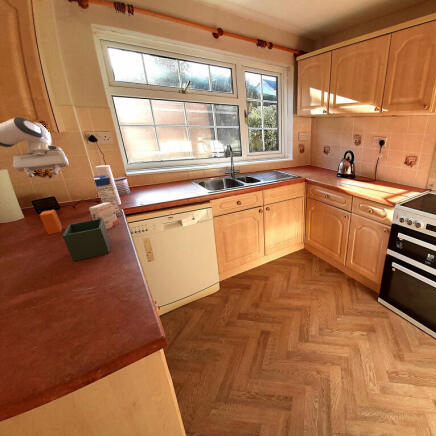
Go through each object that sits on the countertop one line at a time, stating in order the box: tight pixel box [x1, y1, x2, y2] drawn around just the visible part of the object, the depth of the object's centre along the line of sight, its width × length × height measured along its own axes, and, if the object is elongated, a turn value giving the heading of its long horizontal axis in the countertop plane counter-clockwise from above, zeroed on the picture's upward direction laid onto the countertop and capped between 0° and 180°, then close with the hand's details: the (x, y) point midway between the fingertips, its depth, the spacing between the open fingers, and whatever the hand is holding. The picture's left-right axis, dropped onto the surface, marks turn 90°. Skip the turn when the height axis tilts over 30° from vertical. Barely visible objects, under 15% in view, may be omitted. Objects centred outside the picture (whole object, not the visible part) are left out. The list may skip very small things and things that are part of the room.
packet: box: [39, 209, 63, 235], centre depth 119 cm, size 4×6×10 cm
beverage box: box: [93, 175, 123, 218], centre depth 137 cm, size 7×11×22 cm, turn 39°
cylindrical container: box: [95, 164, 122, 206], centre depth 154 cm, size 7×7×25 cm
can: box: [114, 176, 131, 197], centre depth 181 cm, size 11×11×12 cm
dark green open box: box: [62, 218, 112, 263], centre depth 99 cm, size 11×13×11 cm
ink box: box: [88, 202, 120, 230], centre depth 122 cm, size 9×5×12 cm, turn 168°
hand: (43, 175), depth 121 cm, fingers open, 8 cm apart
